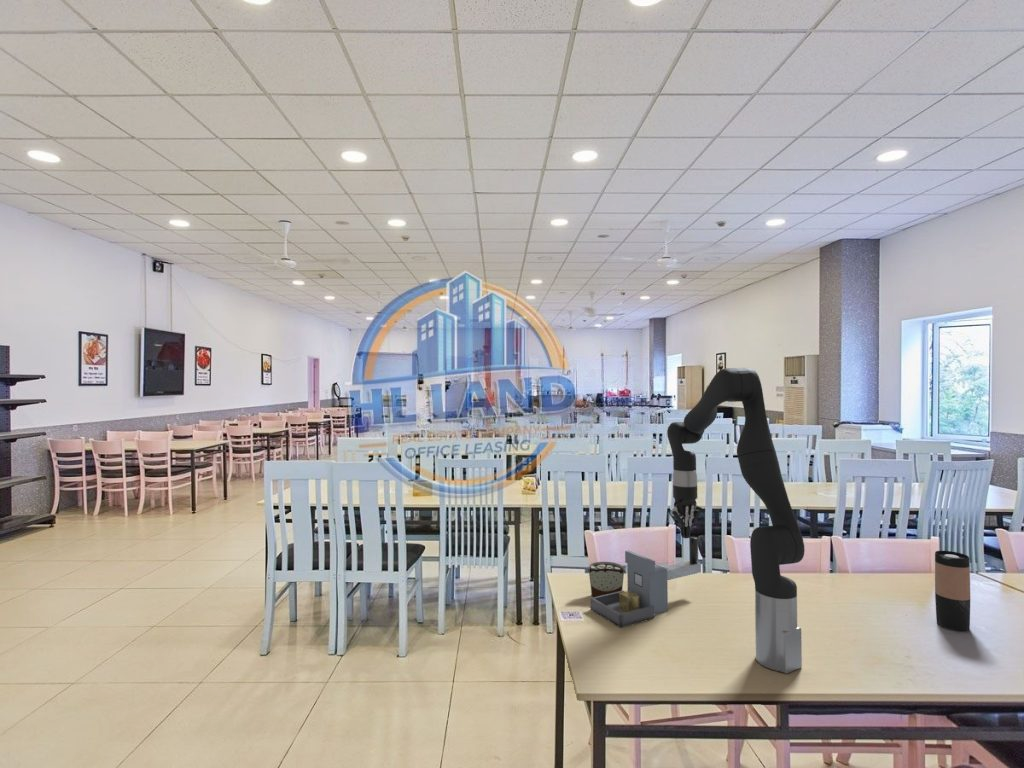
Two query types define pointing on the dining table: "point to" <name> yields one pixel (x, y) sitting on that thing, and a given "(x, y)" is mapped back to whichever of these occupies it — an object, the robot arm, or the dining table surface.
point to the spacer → (628, 601)
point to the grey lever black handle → (681, 565)
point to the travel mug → (952, 590)
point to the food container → (605, 578)
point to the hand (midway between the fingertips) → (685, 537)
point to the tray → (619, 610)
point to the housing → (647, 582)
